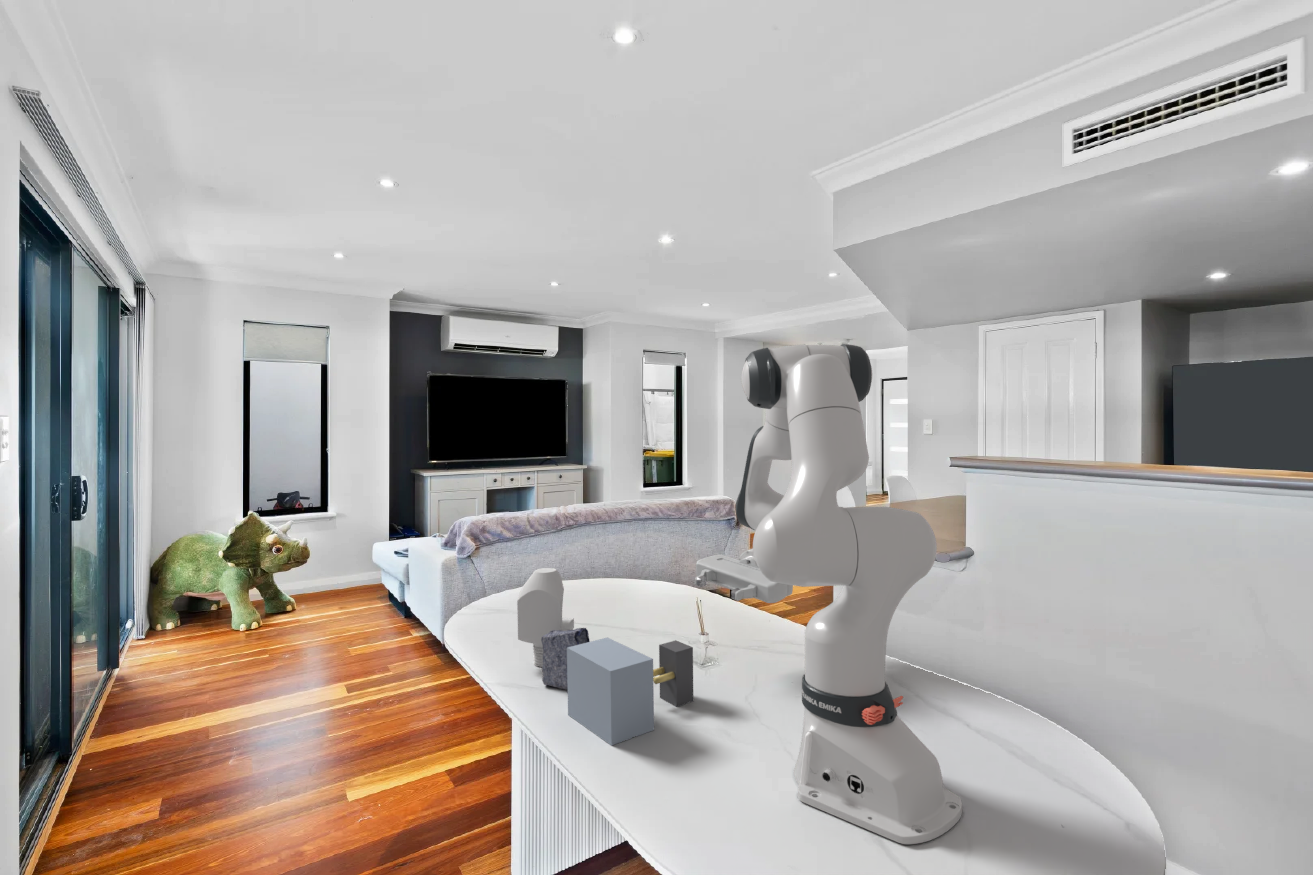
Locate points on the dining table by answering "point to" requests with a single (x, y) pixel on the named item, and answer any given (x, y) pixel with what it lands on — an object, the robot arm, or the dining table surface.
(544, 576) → the light fixture
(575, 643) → the stone
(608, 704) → the socket
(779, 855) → the dining table surface
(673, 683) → the plug
